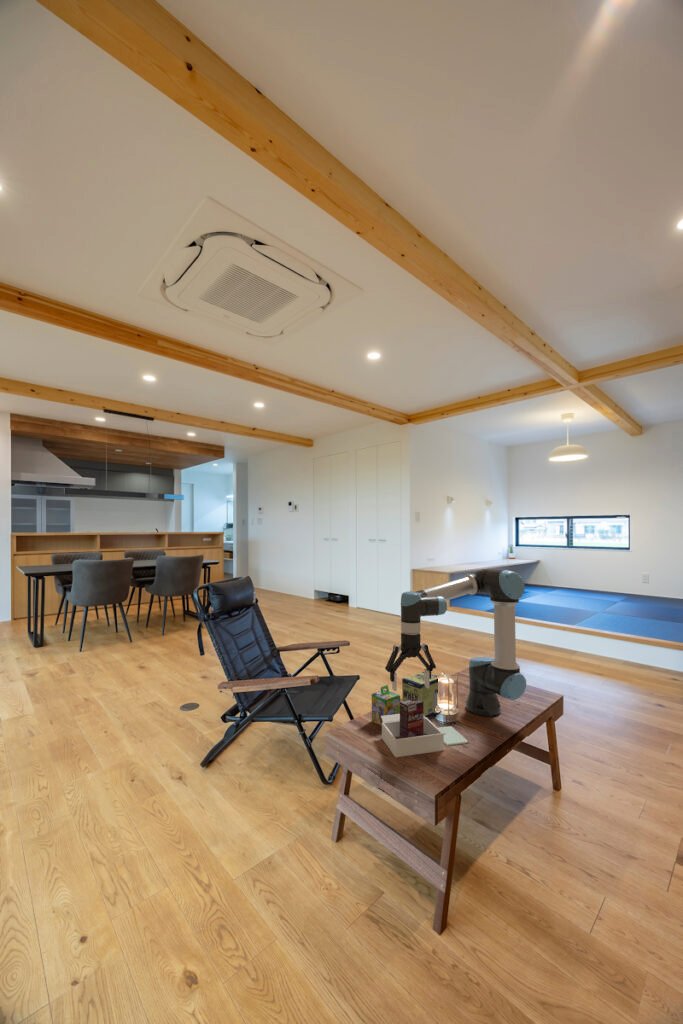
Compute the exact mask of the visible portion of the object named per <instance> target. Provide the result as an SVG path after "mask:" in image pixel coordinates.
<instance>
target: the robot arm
mask: <svg viewBox="0 0 683 1024" xmlns="http://www.w3.org/2000/svg"><path fill="white" fill-rule="evenodd" d="M525 586H526V585H525V582H524V579H523V578H522V576H521V575H520V574H519V573H517V572H516V571H513V570H507V569H506V570H505V569H493V568H487V569H486V568H485V569H481V570H477V571H474V572H470V573H466V574H464V575H463V577H461V578H458V579H455V580H450V581H448V582H445V583H441V584H438V585H434V586H431V587H427V588H424V589H421V590H417V591H411V590H410V591H405V592H402V593H401V597H400V632H401V633H400V646H398V645H396V644H394V645H393V647H392V652H391V654H390V656H389V659H388V661H387V664H386V666H385V668H384V669H385V670H386V672H388V673H389V679H390V680H389V681H390V682H391V684H392V685H391V689H392V690H393V691H394V692H397V689H398V686H397V685H398V683H397V682H398V681H397V678H398V677H397V673H396V671H397V670H398V669H399V668H400V666H401V665H402V664H403V662H404V660H406V658H408V659H409V658H410V659H411V658H416V657H417V658H418V659H419V661H420V663H422V665H423V666H424V667H425V668H424V671H423V672H424V676H425V687H427V688H429V679H431V675H432V672H433V669H436V668H437V666H436V664H435V661H434V660H433V657H432V655H431V653H430V650H429V645H427V644H426V643H422V644H421V637H422V636H421V634H420V633H421V619H422V618H421V617H431V616H433V617H434V616H437V617H438V616H441V615H444V614H445V613H446V612H447V610H448V603H447V601H450V600H454V599H456V598H457V599H458V598H459V597H463V596H465V595H471V596H474V595H477V594H483V595H484V594H485V595H489V600H490V602H491V603H492V604H493V623H494V625H493V626H494V627H493V631H494V632H493V633H494V638H493V639H494V642H493V643H494V647H493V648H494V657H488V656H479V657H478V656H477V657H473V658H470V660H469V661H468V662H469V663H468V673H469V674H468V677H469V680H468V681H469V690H468V691H469V692H468V695H467V699H466V701H465V707H466V710H467V709H468V710H469V712H470V711H471V712H470V713H472V712H473V713H472V714H474V713H476V714H475V715H477V714H479V715H478V716H482V715H484V716H483V717H494V716H493V715H496V716H498V715H500V714H501V713H500V712H502V709H501V707H502V706H501V704H500V701H499V698H498V696H500V697H501V698H503V699H508V700H509V701H516V700H518V699H520V698H521V697H522V696H523V695H524V694H525V691H526V687H527V680H526V677H525V676H524V675H523V674H522V673H521V668H520V667H521V666H520V664H518V662H517V657H516V655H517V653H516V649H517V647H516V645H517V643H516V606H517V604H519V602H520V600H519V599H521V598H523V595H524V594H525V590H526V589H525ZM421 650H422V651H423V653H424V656H425V657H426V659H427V661H428V662H427V661H426V659H425V658H424V657H423V655H422V653H421V652H420V651H421ZM399 652H400V653H399ZM398 654H399V656H398ZM397 656H398V657H397ZM497 695H498V696H497ZM468 710H467V711H468ZM499 713H500V714H499ZM497 714H498V715H497Z"/></svg>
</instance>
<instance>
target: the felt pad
mask: <svg viewBox="0 0 683 1024" xmlns="http://www.w3.org/2000/svg"><path fill="white" fill-rule="evenodd" d="M437 728H438V729H439V730H440V731H441V732H442V733H443V734H444V733H446V734H445V735H444V744H445V746H447V747H449V746H457V745H463V744H464V745H465V744H469V740H468V739H466V738H465V737H464V736H463V735H462V734H461V733H460V732H459V731H458V730H456V729H455V728H454V727H453V726H452V725H450V726H442V727H441V726H440V727H437Z"/></svg>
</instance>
